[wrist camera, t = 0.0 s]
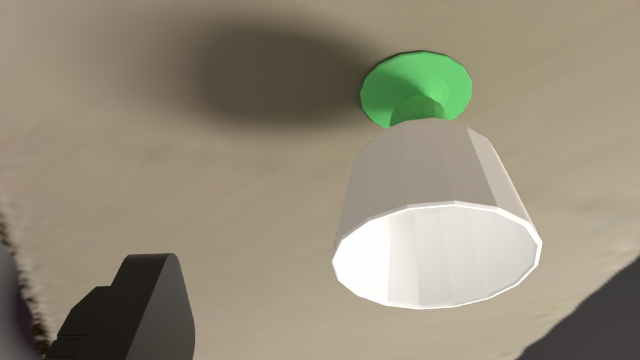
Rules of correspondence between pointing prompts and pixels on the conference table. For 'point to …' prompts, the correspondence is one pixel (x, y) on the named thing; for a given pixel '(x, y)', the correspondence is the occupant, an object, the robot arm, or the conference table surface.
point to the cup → (429, 197)
